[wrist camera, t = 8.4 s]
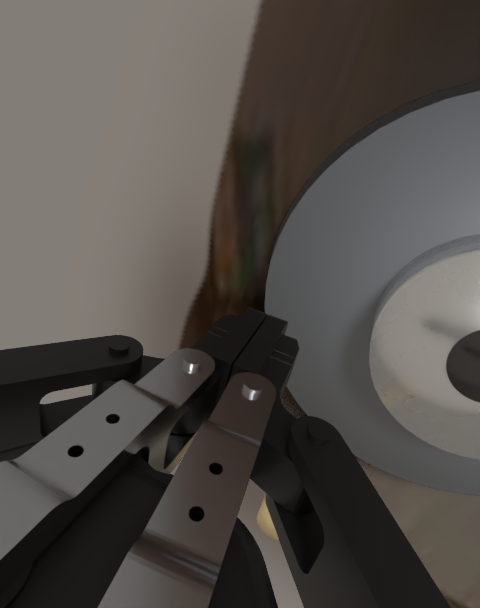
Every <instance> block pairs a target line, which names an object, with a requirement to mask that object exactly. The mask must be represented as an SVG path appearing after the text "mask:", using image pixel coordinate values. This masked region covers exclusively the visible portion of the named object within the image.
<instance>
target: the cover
mask: <svg viewBox="0 0 480 608" xmlns="http://www.w3.org/2000/svg"><path fill="white" fill-rule="evenodd" d="M369 365H370V372H371V377H372V380H373V384H374V387H375V389H376V391H377V393H378V395H379V398H380V399H381V401H382V402H383V404H384V405H385V407H386V408H387V410H388V411H389V412H390V413H391V415H392V416H393V417H394V418H395V419H396V420H397V421H398V422H399V423H400V424H401V425H402V426H403V427H405V428H406V429H407V430H408V431H410V432H411V433H413V434H414V435H415V436H417V437H418V438H420V439H422V440H424V441H425V442H427V443H429V444H431V445H433V446H435V447H437V448H440V449H442V450H444V451H447V452H450V453H453V454H456V455H460V456H464V457H468V458H472V459H478V460H480V234H478V235H471V236H466V237H462V238H458V239H454V240H451V241H448V242H446V243H443V244H440V245H438V246H435V247H434V248H432V249H430V250H428V251H426V252H424V253H422V254H421V255H419V256H418V257H416V258H415V259H413V260H412V261H410V262H409V263H408V264H407V265H406V266H404V267H403V268H402V269H401V270H400V271H399V272H398V273H397V274H396V275H395V276H394V278H393V279H392V280H391V281H390V283H389V284H388V285H387V287H386V288H385V290H384V291H383V293H382V296H381V298H380V300H379V302H378V304H377V308H376V311H375V314H374V320H373V327H372V335H371V343H370V350H369Z"/></svg>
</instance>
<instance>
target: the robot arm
mask: <svg viewBox="0 0 480 608" xmlns="http://www.w3.org/2000/svg"><path fill="white" fill-rule="evenodd" d="M287 326H288V321H285V320H282V319H280V318H277V317H274V316H272V315H268V314H266V313H264V312H261V311H258V310H256V309H253V308H250V307H249V308H248V309H247V310H246V311H245V312H244V313H243V314H242V316H241V317H240V318H239V317H236V316H234V315H228V316H225V317H222V318H220V319H219V320H218V321H217V322H216V323H215V324H214V326H213V327H211V328H210V329H209V331H208V332H207V333H206V334H205V335H204V336H203V337H202V338H201V339H200V340H199V341H198V342H197V343H196V344H195V345H194V346H193V347H192V348H191V349H190V348H187V349H180V350H177V351H175V352H173V353H172V354H171V355H170V356H168V357H167V358H166V359H160V358H155V357H149V356H143V347H142V345H141V343H140V342H138V341H137V340H136V339H134V338H131V337H128V336H122V335H113V336H105V337H97V338H89V339H82V340H74V341H66V342H59V343H51V344H45V345H36V346H29V347H21V348H13V349H6V350H0V608H278V606H277V603H276V599H275V596H274V592H273V589H272V585H271V582H270V578H269V575H268V572H267V568H266V565H265V562H264V559H263V556H262V553H261V551H260V549H259V547H258V545H257V543H256V541H255V539H254V538H253V536H252V534H251V533H250V532H249V530H248V529H247V528H246V526H245V525H244V524H243V523H242V522H241V521H240V519H238V518H237V515H238V512H239V509H240V506H241V503H242V500H243V497H244V494H245V491H246V488H247V484H248V482H249V479H251V480H252V481H253V482H255V483H256V484H257V485H258V486H259V487H260V488H261V489H262V490H263V491H265V492H266V497H265V500H266V505H267V508H268V511H269V514H270V517H271V519H272V522H273V525H274V527H275V530H276V533H277V535H278V538H279V541H280V544H281V546H282V549H283V551H284V554H285V557H286V560H287V563H288V565H289V568H290V571H291V573H292V576H293V578H294V581H295V584H296V587H297V590H298V592H299V595H300V598H301V600H302V603H303V606H304V608H450V606H449V604H448V603H447V601H446V600H445V598H444V597H443V595H442V593H441V592H440V590H439V589H438V587H437V586H436V584H435V582H434V581H433V579H432V578H431V576H430V574H429V573H428V571H427V570H426V568H425V567H424V565H423V563H422V562H421V560H420V559H419V557H418V556H417V554H416V552H415V551H414V549H413V548H412V546H411V545H410V543H409V541H408V540H407V538H406V537H405V535H404V534H403V532H402V530H401V529H400V527H399V526H398V524H397V523H396V521H395V519H394V518H393V516H392V515H391V513H390V511H389V510H388V508H387V507H386V505H385V504H384V502H383V500H382V499H381V497H380V496H379V494H378V493H377V491H376V489H375V488H374V486H373V485H372V483H371V482H370V480H369V478H368V477H367V475H366V474H365V472H364V471H363V469H362V467H361V466H360V464H359V463H358V461H357V460H356V458H355V456H354V455H353V453H352V452H351V450H350V448H349V447H348V445H347V444H346V442H345V441H344V439H343V437H342V436H341V434H340V433H339V432H338V430H337V429H336V428H335V427H334V426H333V425H331V424H330V423H328V422H327V421H325V420H323V419H320V418H318V417H313V416H303V417H300V418H298V419H296V418H295V417H294V416H292V415H291V414H290V413H289V412H288V411H287V410H286V409H285V408H284V406H283V405H282V403H281V400H280V399H281V397H282V394H283V392H284V390H285V388H286V385H287V383H288V380H289V377H290V375H291V372H292V369H293V366H294V363H295V360H296V357H297V355H298V352H299V346H298V342H297V340H296V339H294V338H291V337H289V336H286V335H285V332H286V329H287ZM89 384H92V395H88V396H84V397H79V398H74V399H69V400H64V401H60V402H55V403H50V404H39V403H40V400H41V399H42V397H44V396H45V395H46V394H48V393H50V392H53V391H58V390H63V389H69V388H74V387H79V386H84V385H89ZM207 419H209V421H208V420H207ZM184 455H185V456H184ZM183 456H184V458H183ZM182 458H183V460H182V461H181V463H180V465H179V467H178V469H177V471H176V473H175V474H174V475H171V474H170V473H171V472H172V470H173V469H174V468H175V466H176V465H177V464H178V463H179V462H180V460H181V459H182Z"/></svg>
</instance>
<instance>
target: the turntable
mask: <svg viewBox="0 0 480 608" xmlns="http://www.w3.org/2000/svg"><path fill="white" fill-rule="evenodd" d="M478 234H480V91H476V92H472V93H468V94H464V95H460V96H456V97H452V98H448V99H445V100H442V101H440V102H437V103H434V104H432V105H429V106H426V107H424V108H421V109H418V110H416V111H413V112H411V113H409V114H407V115H405V116H403V117H401V118H399V119H397V120H395V121H393V122H391V123H389V124H387V125H385V126H383V127H382V128H380V129H378V130H376V131H375V132H373V133H372V134H371V135H369V136H368V137H366V138H365V139H363V140H362V141H360V142H359V143H357V144H356V145H354V146H353V147H351V148H350V149H349V150H348V151H347V152H345V153H344V154H343V155H342V156H341V157H340V158H338V159H337V160H336V161H335V162H334V163H333V164H332V165H330V166H329V167H328V168H327V169H326V170H325V171H324V172H323V173H322V175H321V176H320V177H319V178H318V179H317V180H316V181H315V182H314V183H313V185H312V186H311V187H310V188H309V189H308V190H307V191H306V193H305V194H304V196H303V197H302V199H301V200H300V201H299V203H298V204H297V206H296V207H295V209H294V210H293V212H292V213H291V215H290V217H289V219H288V220H287V222H286V224H285V226H284V228H283V230H282V232H281V234H280V236H279V238H278V241H277V244H276V247H275V250H274V253H273V255H272V258H271V262H270V267H269V271H268V276H267V281H266V291H265V313H266V314H268V315H272V316H274V317H277V318H280V319H282V320H285V321H288V326H287V329H286V332H285V335H286V336H289V337H291V338H294V339H296V340H297V342H298V346H299V352H298V355H297V357H296V360H295V363H294V366H293V369H292V372H291V375H290V377H289V380H288V383H287V385H286V386H287V388H288V389H289V391H290V392H291V394H292V396H293V397H294V399H295V400H296V402H297V403H298V405H299V406H300V407H301V408H302V409H303V411H304V412H305V413H306V414H307V415H308V416H313V417H318V418H320V419H323V420H325V421H327V422H328V423H330V424H331V425H333V426H334V427H335V428H336V429H337V430H338V432H339V433H340V434H341V436H342V437H343V439H344V441H345V442H346V444H347V445H348V447H349V448H350V450H351V452H352V453H353V455H355V456H357V457H358V458H360V459H361V460H363V461H365V462H366V463H368V464H370V465H372V466H375V467H377V468H379V469H381V470H383V471H385V472H387V473H389V474H392V475H394V476H397V477H399V478H402V479H404V480H407V481H410V482H413V483H416V484H420V485H423V486H427V487H430V488H434V489H438V490H443V491H448V492H453V493H458V494H465V495H475V496H480V460H478V459H472V458H468V457H464V456H460V455H456V454H453V453H450V452H447V451H444V450H442V449H440V448H437V447H435V446H433V445H431V444H429V443H427V442H425V441H424V440H422V439H420V438H418V437H417V436H415V435H414V434H413V433H411V432H410V431H408V430H407V429H406V428H405V427H403V426H402V425H401V424H400V423H399V422H398V421H397V420H396V419H395V418H394V417H393V416H392V415H391V413H390V412H389V411H388V410H387V408H386V407H385V405H384V404H383V402H382V401H381V399H380V398H379V395H378V393H377V391H376V389H375V387H374V384H373V380H372V377H371V372H370V365H369V350H370V343H371V335H372V327H373V320H374V314H375V311H376V308H377V304H378V302H379V300H380V298H381V296H382V293H383V291H384V290H385V288H386V287H387V285H388V284H389V283H390V281H391V280H392V279H393V278H394V276H395V275H396V274H397V273H398V272H399V271H400V270H401V269H402V268H403V267H404V266H406V265H407V264H408V263H409V262H410V261H412V260H413V259H415V258H416V257H418V256H419V255H421V254H422V253H424V252H426V251H428V250H430V249H432V248H434V247H435V246H438V245H440V244H443V243H446V242H448V241H451V240H454V239H458V238H462V237H466V236H471V235H478ZM265 497H266V493H265V496H264V499H263V502H262V504H261V507H260V510H259V513H258V515H257V524H258V526H259V528H260V529H261V530H262V531H263V532H264V533H265V534H266V535H268V536H269V537H271V538H274V539H277V540H279V538H278V535H277V533H276V530H275V527H274V525H273V522H272V519H271V517H270V514H269V511H268V508H267V505H266V500H265Z"/></svg>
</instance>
